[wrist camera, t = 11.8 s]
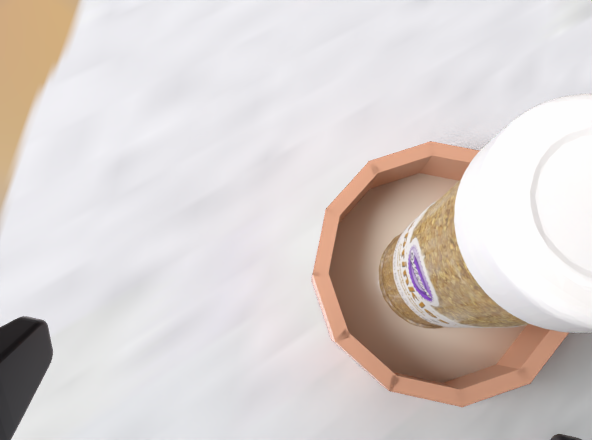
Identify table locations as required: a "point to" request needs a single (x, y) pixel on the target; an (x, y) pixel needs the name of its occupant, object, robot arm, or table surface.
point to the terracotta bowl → (376, 312)
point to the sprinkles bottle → (506, 233)
